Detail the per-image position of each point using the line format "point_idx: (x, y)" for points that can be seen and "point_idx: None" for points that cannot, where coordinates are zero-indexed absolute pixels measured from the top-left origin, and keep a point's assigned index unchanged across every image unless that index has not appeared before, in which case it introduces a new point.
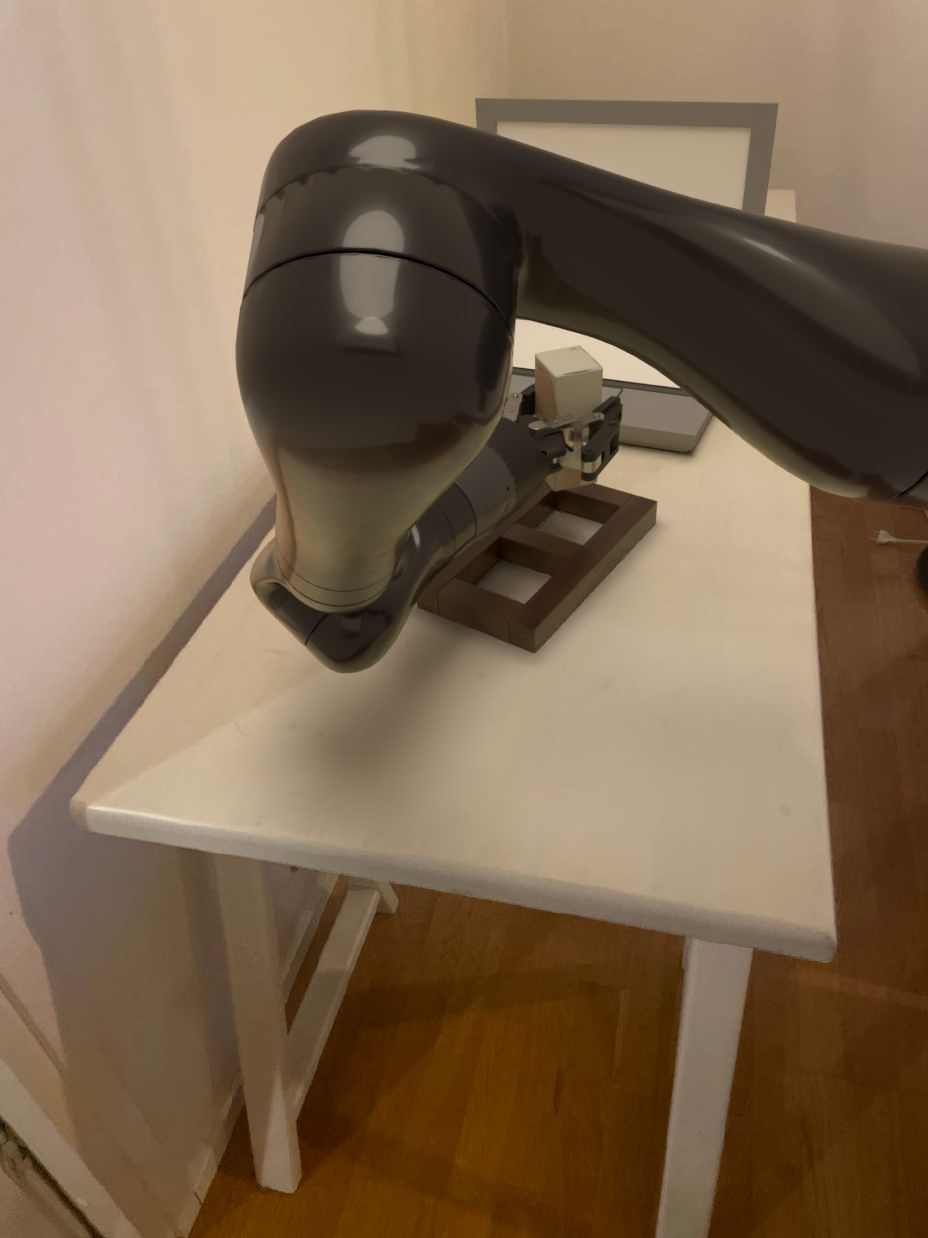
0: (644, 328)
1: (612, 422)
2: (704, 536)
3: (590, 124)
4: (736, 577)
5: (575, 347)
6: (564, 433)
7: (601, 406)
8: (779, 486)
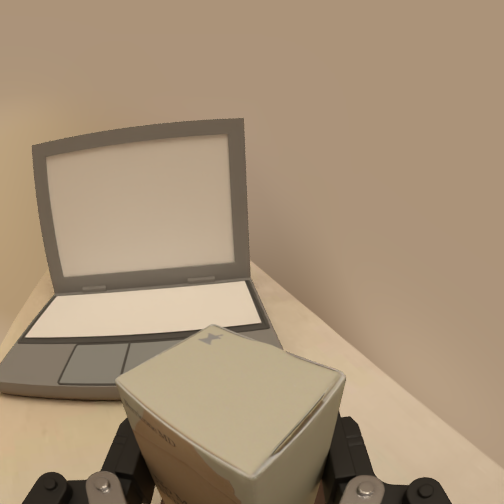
0: None
1: (429, 491)
2: (389, 476)
3: (111, 146)
4: (458, 500)
5: (212, 333)
6: None
7: (336, 451)
8: (382, 386)
